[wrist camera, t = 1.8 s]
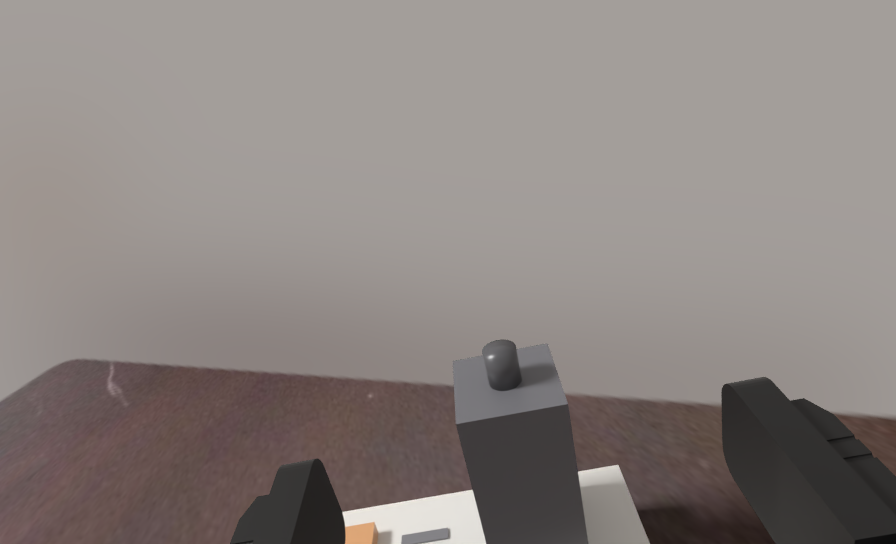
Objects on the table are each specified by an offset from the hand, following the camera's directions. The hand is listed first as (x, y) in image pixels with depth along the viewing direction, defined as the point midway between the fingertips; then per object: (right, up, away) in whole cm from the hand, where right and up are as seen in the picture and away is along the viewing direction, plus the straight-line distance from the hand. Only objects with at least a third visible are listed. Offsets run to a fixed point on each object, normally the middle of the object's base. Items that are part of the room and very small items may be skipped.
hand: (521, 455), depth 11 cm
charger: (+3, -11, +17) cm, 21 cm away
